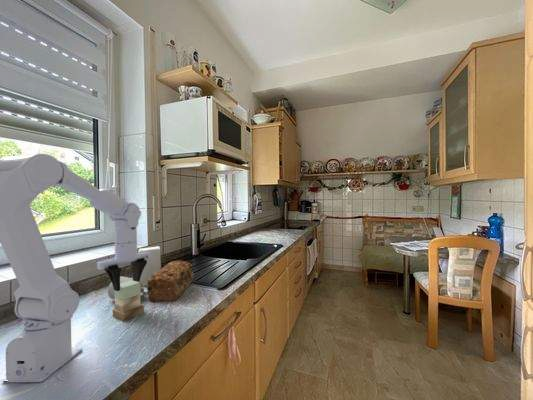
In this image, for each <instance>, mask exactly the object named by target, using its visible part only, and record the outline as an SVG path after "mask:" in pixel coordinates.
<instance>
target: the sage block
mask: <svg viewBox="0 0 533 400" xmlns="http://www.w3.org/2000/svg"><path fill="white" fill-rule="evenodd" d="M114 293H115V298H118V299H121V300H125V299H128V298H131V297H133V296H136V295H139V294H140V295H141V294H142V293H141V287H140V282H137V281H133V280H131V281H127V282H124V283H121V284H120V290H119V291H115V290H114Z"/></svg>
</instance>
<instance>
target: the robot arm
mask: <svg viewBox="0 0 533 400" xmlns="http://www.w3.org/2000/svg"><path fill="white" fill-rule="evenodd" d="M53 186H54V187H56V186H57V187H60V188H62V189H63V190H66V191H69V192H71V193H73V194H75V195H78V196H80V197H82V198H84V199H86V200H88V201H89V205H90V206H91V208H93V209H96V210H97V211H100V212H101V213H104V214H106V215H108V217H109V220H111V221H112V222H113V224H114V225H113V226H114V228H113V229H114V257H111V258H108V259H107V258H106V259H104V260H101V261H97V262H96V269H97V270H98V271H99V270H100V271H102V270H104V272H105V273H106V274H107V276H108V277H109V280H110V283H111V282H112V285H113V288H114V290H115V291H119V290H120V276H121V273H122V268H121V267H120V266H121V265H125V264H128V263H130V264H131V270H132V278H133V281H137V282H140V278H141V274H142V272H143V269H144V267H145V266H146V264H147V260H145V259H146V258H151V252H148V251H147V252H142V253H138V239H137V238H138V235H137V233H138V232H137V231H138V230H137V227H138V225H139V221H140V218H141V216H142V211H141V210H140V206H138V205H137V204H136V203H134V202H128V201H127V200H126V198H124V197H120V196H118V195H117V194H115V192H114V190H112V189H111V188H101V189H99V188H97V187H95V186H94V185H92V184H91V183H90V182H88V181H87V180H86V179H84V178H82V177H81V176H80V175H78V174H76V173H75V172H74V171H72V170H71V169H70V168H69V166H68V165H67V164H66V163H64V162H62V161H59V160H58V159H57V158H55V157H54V156H52V155H50V154H46V153H37V154H36V153H35V154H33V155H30V154H29V155H20V156H11V155H9V156H4V157H0V245H1V247H2V249H3V251H4V253H5V256H6V258H7V260H8V262H9V265H10V267H11V268H12V272H13V274H14V276H15V278H16V280H17V282H18V284H19V287H18V288H17V289H16V290H15V291H14V292H13V296H14V298H15V304H14V314H15V315H16V317H17V318H18V319H22V325H23V328H22V331H21V332H20V333H19V334H18V335H17V336H15V337H14V338H13V339H12V340H10V341H9V342H8V344H7V346H6V348H5V377H6V380H8V381H13V382H12V383H42V382H43V381H45V380H46V379H47V378H49V377H50V376H51V375H53V373H55V372H56V371H57V370H59V369H60V368H61V367H63V366H64V365H66V363H68V362H69V361H70V360H72V359H73V358H74V357H75V356H77V354H79V353H80V352H81V351H83V347H72V346H73V345H72V318H73V316H74V314H75V313H76V311H77V309H78V308H79V304H80V296H79V294H78V292H76V291H75V290H73V289H72V287H71V286H70V284H69V282H68V281H67V280H66V279H64V278H63V277H61V276H60V275H58V274H57V272H56V270H55V267H54V263H53V262H52V259H51V256H50V254H49V252H48V248H47V247H46V244H45V240H44V238H43V236H42V233H41V231H40V228H39V226H38V224H37V220H36V219H35V216H34V213H33V211H32V209H31V203H32V202H34V201H35V199H36V198H37V197H38V196H39V195H41V194H42V193H43V192H45V191H47V190H48V189H50V188H52V187H53Z"/></svg>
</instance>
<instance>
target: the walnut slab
mask: <svg viewBox="0 0 533 400" xmlns="http://www.w3.org/2000/svg"><path fill="white" fill-rule="evenodd" d="M144 313H145V305H143V304H141V303H140V306H138V307H136V308H133V309H131V310H128V311H126V312H121V311H119V310H117V309H115V308H113V309H112V318H115V319H116V320H118V321H121V322H126V321H128V320H129V321H130V320H131V319H133V318H135V317H137V316H140V315H142V314H144Z"/></svg>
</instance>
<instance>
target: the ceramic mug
mask: <svg viewBox="0 0 533 400" xmlns="http://www.w3.org/2000/svg"><path fill="white" fill-rule="evenodd" d="M131 280H133V277H127V276H121V275H120V284H121V283H124V282H127V281H131ZM140 287H141V294H143V293H144V292H145V288H143V287H142V284H141V282H140ZM107 296H108V298H110V299H112V300H115V293H114V288H113V285H112V282H111V281H110V283H109V286H108V289H107Z"/></svg>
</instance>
